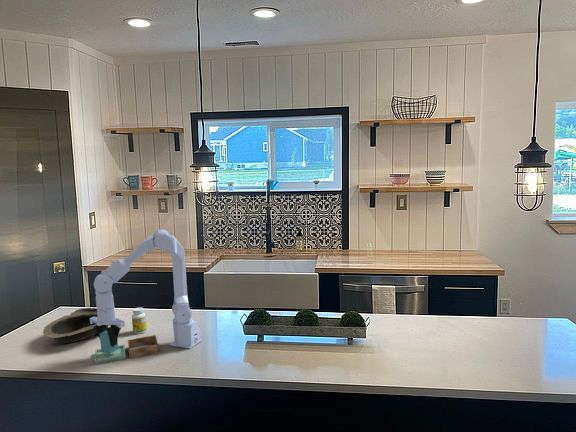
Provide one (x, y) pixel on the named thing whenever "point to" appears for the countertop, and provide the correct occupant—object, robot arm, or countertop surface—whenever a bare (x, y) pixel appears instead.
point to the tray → (110, 355)
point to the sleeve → (143, 350)
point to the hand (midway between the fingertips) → (109, 344)
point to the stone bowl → (72, 326)
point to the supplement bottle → (139, 321)
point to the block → (107, 343)
